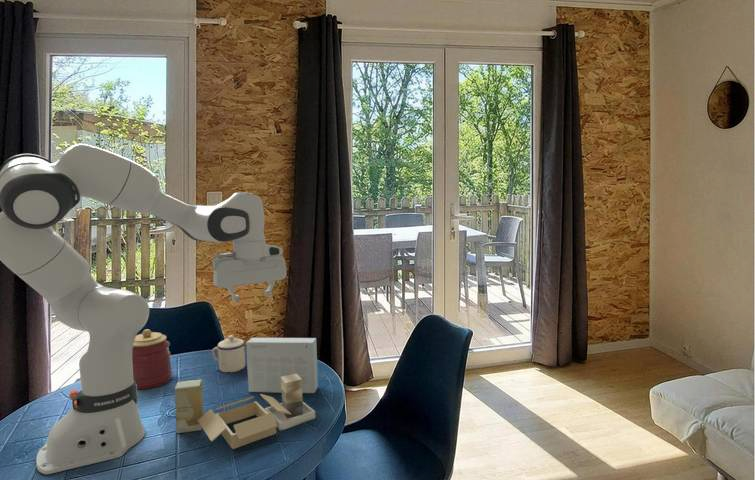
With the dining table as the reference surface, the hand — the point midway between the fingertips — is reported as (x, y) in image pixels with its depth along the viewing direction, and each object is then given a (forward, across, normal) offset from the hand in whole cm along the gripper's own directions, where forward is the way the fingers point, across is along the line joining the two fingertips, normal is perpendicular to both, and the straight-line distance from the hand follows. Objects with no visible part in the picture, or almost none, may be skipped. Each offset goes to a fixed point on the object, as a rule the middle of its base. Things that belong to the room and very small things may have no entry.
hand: (252, 298), depth 126 cm
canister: (+31, -22, +37) cm, 53 cm away
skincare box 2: (+31, +10, +4) cm, 33 cm away
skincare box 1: (+31, -19, -2) cm, 37 cm away
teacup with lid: (+31, +2, +32) cm, 45 cm away
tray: (+31, +4, -13) cm, 34 cm away
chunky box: (+31, +5, -12) cm, 33 cm away
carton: (+31, -8, -12) cm, 34 cm away
